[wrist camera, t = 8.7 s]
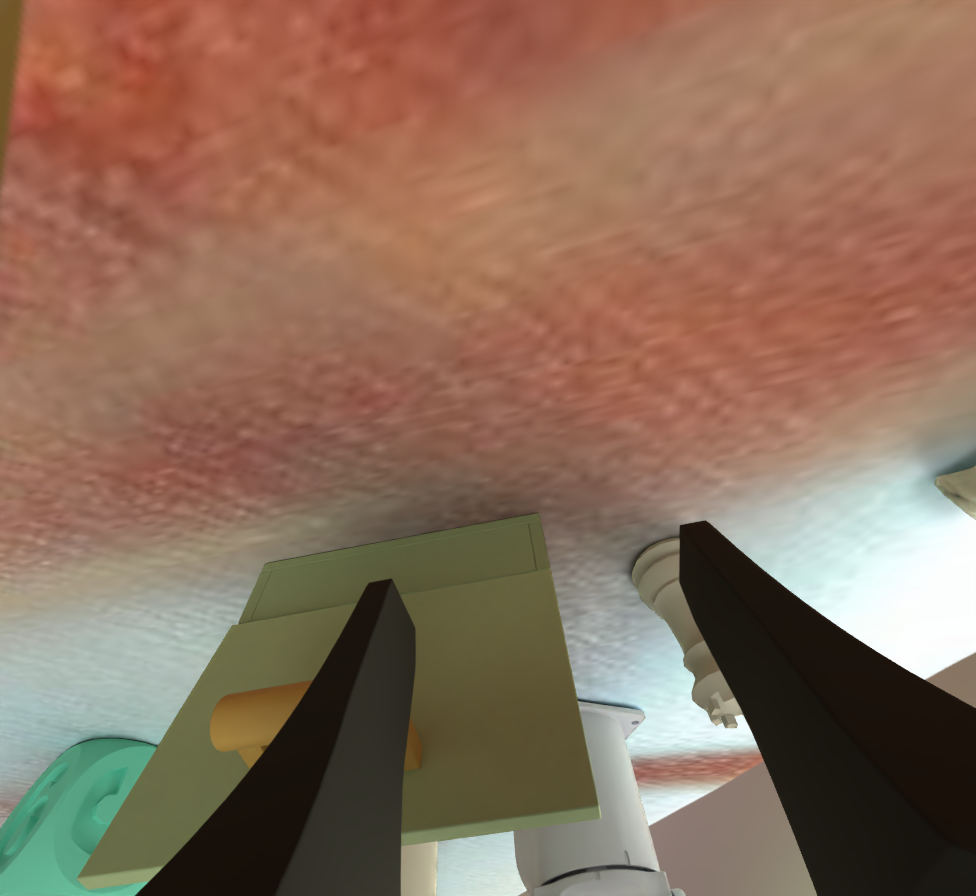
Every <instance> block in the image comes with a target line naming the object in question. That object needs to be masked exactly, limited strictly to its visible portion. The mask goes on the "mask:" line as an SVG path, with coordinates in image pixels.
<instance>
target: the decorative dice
mask: <svg viewBox="0 0 976 896" xmlns="http://www.w3.org/2000/svg"><path fill="white" fill-rule="evenodd" d="M156 748H157V747H156V746H153V745H150V744H147V743H143V742H139V741H134V740H127V739H96V740H90V741H86V742H83V743H80V744H78V745H76V746H73V747H71V748H70V749H68V750H67V751H66V752H64V753H63V754H62V755H61V756H60V757H59V758H58V759H56V760H55V761H54V762H53V763H52V764H51V765H50V766H49V768H48V769H47V770H46V771H45V772H44V773H43V774H42V775H41V776H40V777H39V779H38V780H37V781H36V782H35V783H34V784H33V786H32V787H31V788H30V789H29V791H28V792H27V793H26V794H25V796H24V797H23V798H22V799H21V801H20V802H19V803H18V805H17V806H16V807H15V809H14V810H13V811H12V813H11V814H10V816H9V817H8V818H7V820H6V821H5V823H4V824H3V826H2V827H1V829H0V896H135V895H136V894H137V893H138V892H139V891H140V890H141V889H142V888H143V887H144V886H145V885H146V884H147V883H148V882H149V881H148V882H141V883H133V884H126V885H119V886H112V887H105V888H97V889H90V890H88V889H86V888H85V887H84V886H83V885H82V884H81V883H80V882H79V881H78V880H77V877H78V875H79V874H80V872H81V871H82V869H83V867H84V866H85V864H86V862H87V861H88V859H89V858H90V856H91V854H92V853H93V851H94V849H95V848H96V846H97V845H98V843H99V841H100V840H101V838H102V836H103V835H104V833H105V831H106V830H107V828H108V827H109V825H110V823H111V822H112V820H113V818H114V817H115V815H116V814H117V812H118V810H119V809H120V807H121V805H122V804H123V802H124V801H125V799H126V797H127V796H128V794H129V792H130V791H131V789H132V788H133V786H134V784H135V783H136V781H137V779H138V778H139V776H140V774H141V773H142V771H143V770H144V768H145V766H146V765H147V763H148V761H149V760H150V758H151V757H152V755H153V753H154V752H155V750H156Z"/></svg>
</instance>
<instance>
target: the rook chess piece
mask: <svg viewBox="0 0 976 896" xmlns="http://www.w3.org/2000/svg"><path fill="white" fill-rule="evenodd" d="M679 549H680V538H675V537H674V538H670V539H666V540H662V541H659V542H657V543H655V544H654V545H652V546H650V547H648V548H647V549H646V550H645V551H644V552H643V553H642V554H641V555H640V556H639V558H638V560H637V562H636V564H635V567H634V569H633V572H632V579H633V583H634V586H635V587H636V588H637V589H638V590H639V595H640V598H641V599H642V601H643V602H644V603H645V604H646V605H647V606H648V607H649V608H650V609H651V610H653V611H655V613H656V614H657V615H658V616H659V617H660V618H661V619H664V620H665V621H666V622H667V624H668V625H669V627H670V629H671V630H672V632H673V634H674V635H675V637H676V639H677V640H678V642H679V644H680V646H681V648H682V650H683V653H684V655H685V656H684V659H683V661H684V666H685V667H686V668H687V669H688V670H689V671H690V672H692V673H693V674H694V676H695V682H694V686H693V689H692V700H693V701H694V702H695V703H696V704H697V705H698V706H699V707H701V708H702V709H704V710H706V711H707V712H708V715H709V717H710V719H711V721H712V722H713V723H714V724H715V725H716V726H717V725H719V724H720V723H722V722H723V724H724V726H725V728H737V725H738V724H737V722H736V720H735V717H734V716H739V715H743V713H742V711H741V709H740V707H739V705H738V703H737V701H736V699H735V697H734V695H733V694H732V692H731V690H730V688H729V686H728V684H727V682H726V680H725V679H724V677H723V675H722V673H721V671H720V669H719V667H718V665H717V663H716V662H715V660H714V658H713V656H712V654H711V652H710V650H709V648H708V646H707V644H706V643H705V641H704V639H703V637H702V635H701V633H700V631H699V629H698V627H697V625H696V623H695V621H694V619H693V616H692V614H691V611H690V609H689V606H688V604H687V601H686V599H685V596H684V593H683V591H682V588H681V586H680V583H679ZM720 717H721V719H720ZM721 720H722V721H721ZM748 726H749V725H748Z"/></svg>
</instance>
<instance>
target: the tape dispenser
mask: <svg viewBox="0 0 976 896" xmlns="http://www.w3.org/2000/svg"><path fill="white" fill-rule="evenodd" d="M935 486H936V487H937V488H938V489H939V490H940V491H941V492H942V493H943V494H944V495H945V496H946V497H948V498H949V499H950V500H951V501H952V502H954V503H955V504H956V505H957V506H958V507H960V508H961V509H962V510H963V511H965V512H966V513H967V514H968V515H969V516H971V517H973V518H974V519H976V466H974V467H972V468H969V469H966V470H962V471H959V472H955V473H951V474H946V475H941V476H938V477H937V478H936V479H935Z"/></svg>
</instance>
